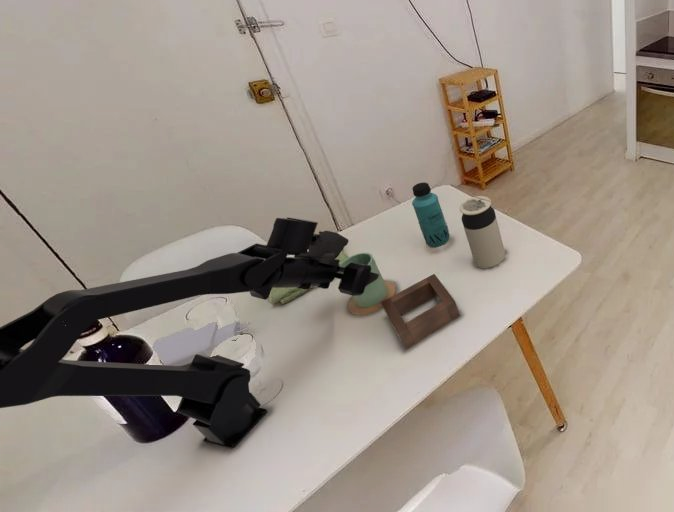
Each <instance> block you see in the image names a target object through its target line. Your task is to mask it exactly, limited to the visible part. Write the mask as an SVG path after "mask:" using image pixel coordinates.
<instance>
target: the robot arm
mask: <svg viewBox="0 0 674 512" xmlns="http://www.w3.org/2000/svg"><path fill="white" fill-rule="evenodd" d="M318 224H319V222H318V221H313V220H307V219H301V218H295V217H282V218H281V217H277V218H275V220H274V223H273V227H272V230H271V233H270V236H269V238H268V241H267V242H266V244H262V243H257V242H256V243H254V244H252V245H250V246H248V247H246V248H244V249H242V250H240V251H238V252H231V253H227V254H224V255H221V256H218V257H214V258H211V259H208V260H206V261H204V262H202V263H200V264H198V265H197V266H194V267H191V268H188V269H184V270H183V269H182V270H178V271H173V272H167V273H163V274H162V273H161V274H158V275H152V276H146V277H141V278H136V279H131V280H126V281H125V280H124V281H120V282H117V283H116V282H115V283H110V284H105V285H100V286H94V287H88V288H83V289H71V290H66V291H62V292H58V293H56V294H54V295H52V296H50V297H49V298H47V299H46V300H44V301H43V302H42V303H41V304H39V305H38V306H37V307H35V308H34V309H32V310H31V311H29V312H26V313H25V314H23V315H20V316H19V317H17V318H15V319H13V320H12V321H10V322H8V323H6V324H4V325H2V326H0V409H4V408H11V407H20V406H26V405H30V404H33V403H37V402H40V401H43V400H44V401H45V400H47V399H50V398H54V397H179V398H181V399H180V402H179V404H178V406H177V409H176V413H178V414H180V415H183V416H186V417H188V418H191V419H193V420H195V421H194V422H192V426H193V427H194V428H196V429H197V431H199V433H201V434H202V436H204V439H203V440H202V441H203V443H205V444H208V445H213V446H217V447H222V448H225V449H226V448H227V449H234V448H236V447H237V446H238V444H240V443H241V441H243V440H244V438H246V436H247V435H248V434H249V433H250V432H251V431H252V429H253V428H254V427H255V426H256V425H257V424H258V423H259V422H260V421H261V420H262V419H263V418H264V417H265V416H266V414H268V409H267V408H264V407H261V403H260V401H259V400H258V399H257V398H256V397H255V396H254V395H253V393H252V392H250V384H249V383H250V381H251V377H252V376H251V370H250V369H248V368H246V367H244V366H245V363H243V362H239V361H237V360H234V359H231V358H228V357H225V356H222V355H220V354H219V355H216V356H212V357H205V356H202V355H198V354H196V355H195V357H194V359H193V361H192V363H189V364H186V365H182V366H168V365H149V364H145V363H129V362H111V361H109V362H108V361H93V360H92V361H91V360H89V361H88V360H74V359H73V360H72V359H64V358H65V357H66V356H67V354H68V353H69V351H70V350H71V349H72V347H73V346H74V345H75V343H76V342H77V341H78V339H79V338H80V337H81V335H82V334H83V333H84V331H86V330H87V329H88V328H89V327H90V326H92V325H93V324H94V323H95V322H96V321H99V320H103V319H107V318H111V317H116V316H120V315H124V314H128V313H132V312H136V311H140V310H144V309H149V308H152V307H156V306H161V305H166V304H169V303H174V302H177V301H181V300H185V299H189V298H194V297H198V296H205V295H231V294H239V293H249V294H250V296H251V297H252V298H256V299H261V300H265V301H266V300H269V295H270V292H271V290H272V288H288V287H297V288H301V289H309V288H310V287H313V288H319V289H325V290H327V289H329V288H330V284H331V283H333V281H334V280H335V279H338V280H340V281H339V284H338V286H337V289H338V291H339V292H340V293H341V294H343V295H344V294H345V295H348V296H351V297H352V296H357V295H362V294H363V293H364V290H365V287H366V286H367V285H369V284H370V283H372V282H373V281H375V280H377V279H378V276H379V274H376V273H373V272H371V266H370V265H366V264H362V263H352V262H351V263H350V264H348V265H347V266H346V267H341V266H340V265H339V262H340V260H338V259H335V258H337V257H338V256H339V254H340V253H341V251H342V250H343V251H344V248H345V247H346V246H347V245H348V244H349V239H348V238H347V237H345V236H343V235H342V234H340V233H338V232H334V231H330V230H323V231H322V230H319V232H318V233H315V232H316V229H317V226H318ZM292 256H293V257H292ZM339 271H340V272H339ZM341 272H343V273H341ZM77 304H78V305H77ZM69 306H70V307H69ZM66 308H67V309H66ZM65 309H66V310H65ZM63 321H64V322H63ZM65 325H66V326H65ZM30 342H31V344H29V343H30ZM27 344H29V346H27V347H26V348H23V347H25V346H26V345H27Z"/></svg>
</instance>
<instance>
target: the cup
mask: <svg viewBox="0 0 674 512" xmlns="http://www.w3.org/2000/svg"><path fill="white" fill-rule="evenodd" d="M348 257H349V258H347V259H346V260H344V261H343V262H342V263H341V264H340V266H341V267H346V266H347V265H348V264H350V263H351V262H352V263H362V264H366V265H370V266H371V272H373V273H376V274H379V276H378V279H377V280H375V281H373V282H372V283H370V284H369V285H367V286H366V287H365V290H364V293H363V294H362V295H357V296H352V295H351V298H352V297H353V299H354V301H355V303H356V304H357V306H359V307H361V308H367V307H371V306H374V305H376V304H378V303H379V302H381V301H382V300H383V299H384V298H385V297H386V295H387V294H388V288H387V286H386V284H385V282H384V281H385V280H384V278H383V276H382V274H381V271H380V269H379V267H378V264H377V263H376V260H375V258H374V256H373V254H372V253H369V252H359V253H356V254H353V255H351V256H348ZM339 272H340V271H339ZM341 273H343V272H341Z"/></svg>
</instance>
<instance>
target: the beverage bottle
mask: <svg viewBox="0 0 674 512" xmlns="http://www.w3.org/2000/svg"><path fill="white" fill-rule="evenodd" d="M411 189H412V194H413V196H414V198H413V200H412V202H411V205H412V207H413V210H414V213H415V215H416V218H417V222H418V225H419V227H420V231H421V234H422V236H423V238H424V242H425V244H426V246H427V247H429V248H433V249H436V248H441V247H443V246H445V245H446V244H448V242H449V241H450V240H451V239H450V238H451V234H450V229H449V227H448V223H447V222H446V219H445V215H444V212H443V209H442V207H441V204H440V201H439V196H438V195H437V194H436V193H434V192H431V191H432V189H431V187H430V185H429V183H428V182H424V181H423V182H419V183H416V184H414V185H413V187H412V188H411Z"/></svg>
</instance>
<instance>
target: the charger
mask: <svg viewBox="0 0 674 512" xmlns="http://www.w3.org/2000/svg"><path fill="white" fill-rule="evenodd" d="M250 324H251V321H249V322H244V323H242V324H241V321H240V320H238V321H235V322H232V323H229V324H227V325H224V326H223V327H222V328H220V329H218V325H217V322H212V323H208V324H207V325H206V326H204V327H202V328H200V329H198V330H194V329H193V328H192V327H193V326H191V327H187V328H185V329H182V330H180V331H176V332H174V333H171V334H168V335H165V336H163V337H160V338H157V339H156V340H154V342H153V345H152V346H151V349H152V348H153V350H154V351H155V352H156V353H157V355H158V357H159V358H160V359H161V360H162V361H163V363H164V364H165V365H168V366H182V365H186V364H189V363H192V361H193V359H194V357H195V355H196V354H198V355H202V356H205V357H209V354H210V353H211V351H212V350H213V349H214V348H215V347H217V346H218V345H219V344H220V343H222V342H223V341H225V340H227V339H228V338H231V337H233V336H236V335H238V334H240V335H241V333H242V332H246V331H248V330H249V329H250V327H245V326H248V325H250ZM243 327H245V328H243ZM242 328H243V329H242Z"/></svg>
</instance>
